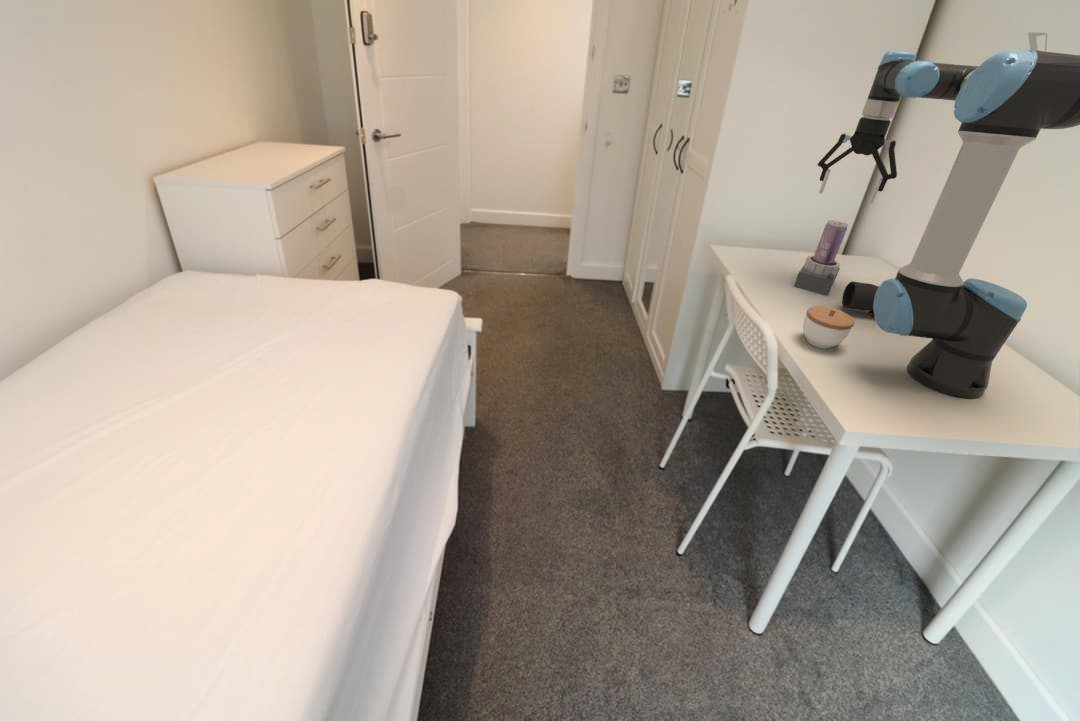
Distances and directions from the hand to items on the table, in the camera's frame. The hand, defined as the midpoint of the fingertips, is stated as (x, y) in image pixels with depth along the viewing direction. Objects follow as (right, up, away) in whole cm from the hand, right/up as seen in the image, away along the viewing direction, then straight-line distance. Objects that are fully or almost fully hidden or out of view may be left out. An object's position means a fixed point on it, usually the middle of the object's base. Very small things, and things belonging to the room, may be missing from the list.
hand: (845, 197), depth 149 cm
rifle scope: (+11, -36, -3) cm, 37 cm away
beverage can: (-1, -19, +12) cm, 23 cm away
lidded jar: (-18, -43, -19) cm, 51 cm away
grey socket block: (-1, -23, +15) cm, 28 cm away
